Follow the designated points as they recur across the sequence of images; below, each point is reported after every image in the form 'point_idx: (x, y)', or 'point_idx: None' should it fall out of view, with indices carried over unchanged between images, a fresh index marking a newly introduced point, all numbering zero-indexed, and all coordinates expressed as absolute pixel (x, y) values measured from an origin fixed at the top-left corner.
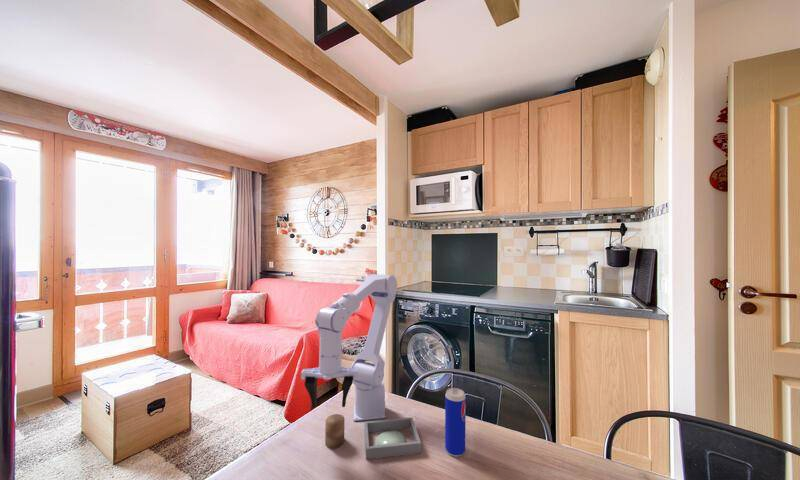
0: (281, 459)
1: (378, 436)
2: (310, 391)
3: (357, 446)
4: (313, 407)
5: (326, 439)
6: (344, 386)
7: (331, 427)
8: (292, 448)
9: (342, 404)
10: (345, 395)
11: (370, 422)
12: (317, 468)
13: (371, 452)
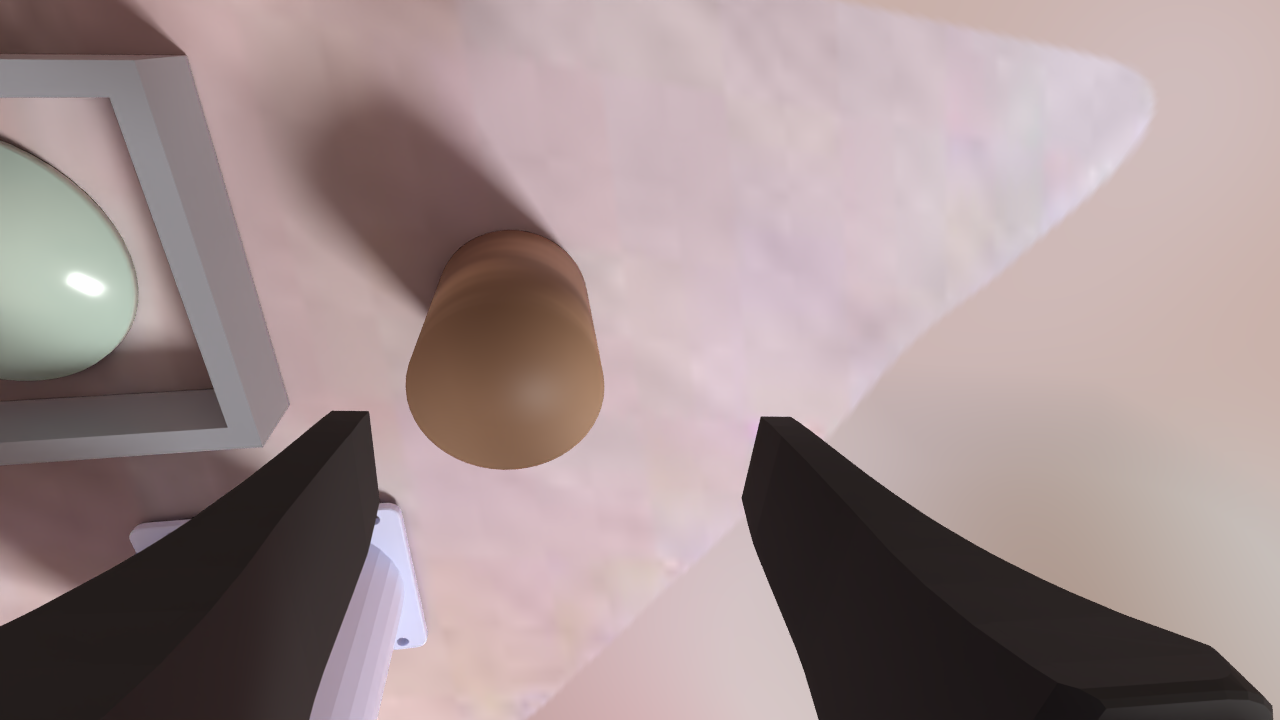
0: (886, 165)
1: (124, 316)
2: (973, 570)
3: (309, 231)
4: (781, 418)
5: (577, 280)
6: (59, 693)
7: (531, 297)
8: (817, 267)
9: (347, 425)
10: (218, 521)
11: (197, 434)
12: (614, 14)
13: (95, 57)
